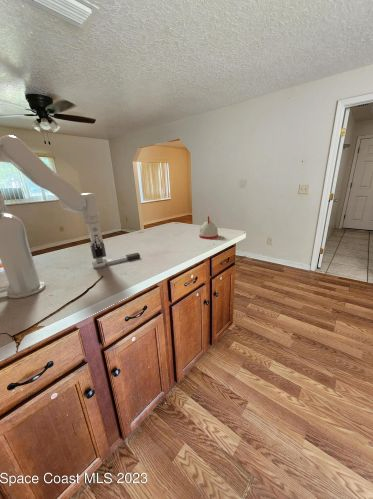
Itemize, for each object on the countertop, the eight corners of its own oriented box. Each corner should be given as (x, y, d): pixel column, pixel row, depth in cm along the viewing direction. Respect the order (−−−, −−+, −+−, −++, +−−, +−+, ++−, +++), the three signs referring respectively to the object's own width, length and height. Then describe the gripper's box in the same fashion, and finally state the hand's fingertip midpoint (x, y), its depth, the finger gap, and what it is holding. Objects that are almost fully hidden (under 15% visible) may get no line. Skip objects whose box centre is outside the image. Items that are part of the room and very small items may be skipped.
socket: (93, 259, 102) (90, 245, 99) (92, 255, 107) (89, 242, 104) (106, 256, 105) (103, 243, 102) (104, 253, 109) (101, 240, 107)
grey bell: (217, 234, 160) (218, 214, 155) (218, 239, 147) (218, 218, 142) (200, 234, 162) (199, 215, 157) (198, 239, 149) (198, 218, 144)
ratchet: (94, 269, 103) (91, 257, 101) (92, 265, 108) (89, 253, 106) (141, 259, 114) (139, 248, 112) (137, 255, 120) (136, 245, 118)
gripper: (103, 221, 94) (109, 257, 100) (97, 216, 108) (103, 248, 114) (85, 223, 90) (93, 261, 96) (81, 218, 105) (88, 251, 111)
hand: (98, 254), depth 105 cm, fingers closed on socket, 6 cm apart
